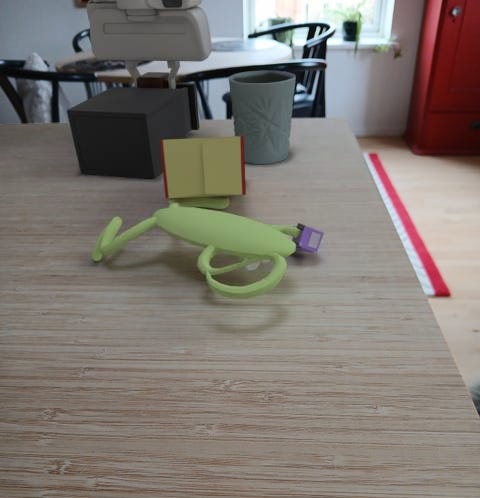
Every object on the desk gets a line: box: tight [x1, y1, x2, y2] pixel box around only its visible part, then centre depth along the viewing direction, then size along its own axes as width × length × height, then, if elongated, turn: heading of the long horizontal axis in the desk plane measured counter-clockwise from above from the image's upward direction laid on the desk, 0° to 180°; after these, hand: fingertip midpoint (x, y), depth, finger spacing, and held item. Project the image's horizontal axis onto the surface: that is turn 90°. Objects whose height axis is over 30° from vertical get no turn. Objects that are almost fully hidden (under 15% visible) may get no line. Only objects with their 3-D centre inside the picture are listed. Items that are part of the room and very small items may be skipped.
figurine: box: [91, 196, 325, 300], centre depth 56 cm, size 18×27×6 cm
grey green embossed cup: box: [228, 69, 297, 165], centre depth 81 cm, size 10×10×12 cm
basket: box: [132, 82, 200, 136], centre depth 91 cm, size 18×11×8 cm, turn 165°
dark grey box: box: [66, 86, 188, 180], centre depth 82 cm, size 15×13×10 cm
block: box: [138, 71, 170, 88], centre depth 88 cm, size 4×4×4 cm
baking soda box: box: [160, 135, 247, 199], centre depth 67 cm, size 10×6×16 cm
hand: (155, 89), depth 88 cm, fingers closed on block, 4 cm apart
